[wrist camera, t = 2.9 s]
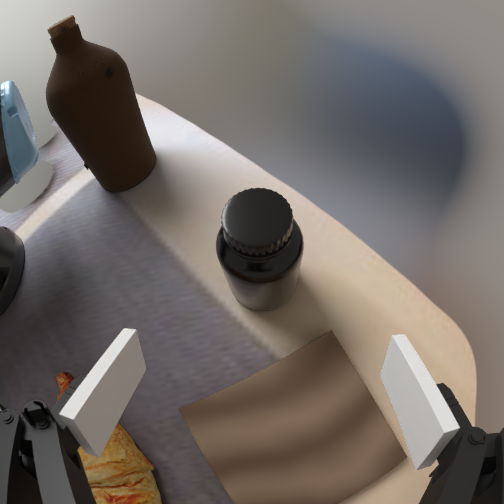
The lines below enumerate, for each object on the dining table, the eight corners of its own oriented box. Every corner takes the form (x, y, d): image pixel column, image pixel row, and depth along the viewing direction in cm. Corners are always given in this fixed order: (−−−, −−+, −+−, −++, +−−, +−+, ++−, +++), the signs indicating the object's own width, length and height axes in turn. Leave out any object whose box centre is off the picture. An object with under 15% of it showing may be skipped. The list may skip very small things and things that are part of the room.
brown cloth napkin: (182, 408, 24) (178, 408, 23) (328, 332, 26) (331, 330, 25) (260, 532, 17) (260, 537, 16) (402, 455, 20) (407, 457, 19)
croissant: (193, 520, 20) (210, 538, 14) (120, 548, 14) (118, 572, 8) (103, 369, 28) (95, 348, 23) (33, 391, 22) (8, 374, 17)
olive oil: (162, 137, 41) (116, -6, 19) (158, 186, 36) (87, 13, 14) (103, 153, 41) (42, 28, 18) (91, 203, 36) (1, 62, 14)
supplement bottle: (257, 239, 32) (251, 162, 21) (308, 274, 29) (329, 206, 19) (215, 286, 29) (186, 223, 19) (268, 326, 27) (268, 283, 16)
